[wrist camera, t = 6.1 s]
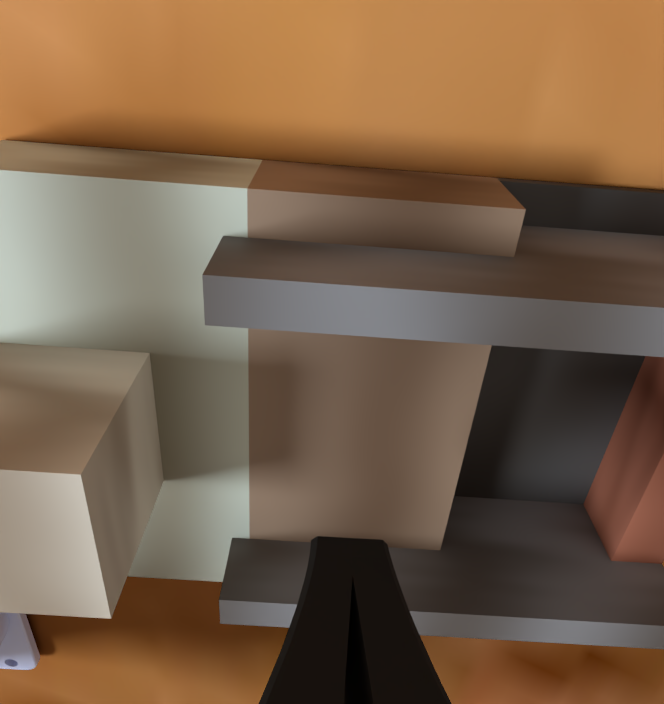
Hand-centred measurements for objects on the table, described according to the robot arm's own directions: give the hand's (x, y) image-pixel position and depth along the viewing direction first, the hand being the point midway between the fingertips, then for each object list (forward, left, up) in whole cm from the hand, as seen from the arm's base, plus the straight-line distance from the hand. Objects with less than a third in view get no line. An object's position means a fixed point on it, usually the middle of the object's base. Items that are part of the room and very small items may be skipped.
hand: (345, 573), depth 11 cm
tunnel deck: (+1, 0, -7) cm, 7 cm away
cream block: (-7, 0, -4) cm, 8 cm away
